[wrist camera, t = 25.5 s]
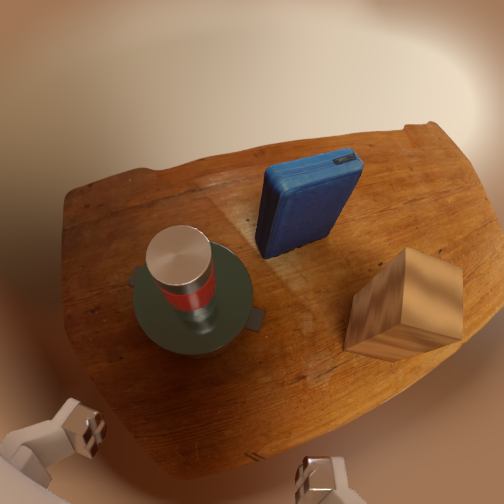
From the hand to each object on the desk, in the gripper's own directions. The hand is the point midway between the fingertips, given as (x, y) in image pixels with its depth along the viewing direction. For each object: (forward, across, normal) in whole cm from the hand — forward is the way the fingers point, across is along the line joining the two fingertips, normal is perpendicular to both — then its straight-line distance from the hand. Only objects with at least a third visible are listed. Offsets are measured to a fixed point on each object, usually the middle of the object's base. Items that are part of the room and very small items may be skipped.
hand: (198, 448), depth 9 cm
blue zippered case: (+45, +7, -2) cm, 45 cm away
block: (+35, +23, -12) cm, 43 cm away
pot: (+33, -7, -13) cm, 36 cm away
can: (+26, -7, -7) cm, 28 cm away
